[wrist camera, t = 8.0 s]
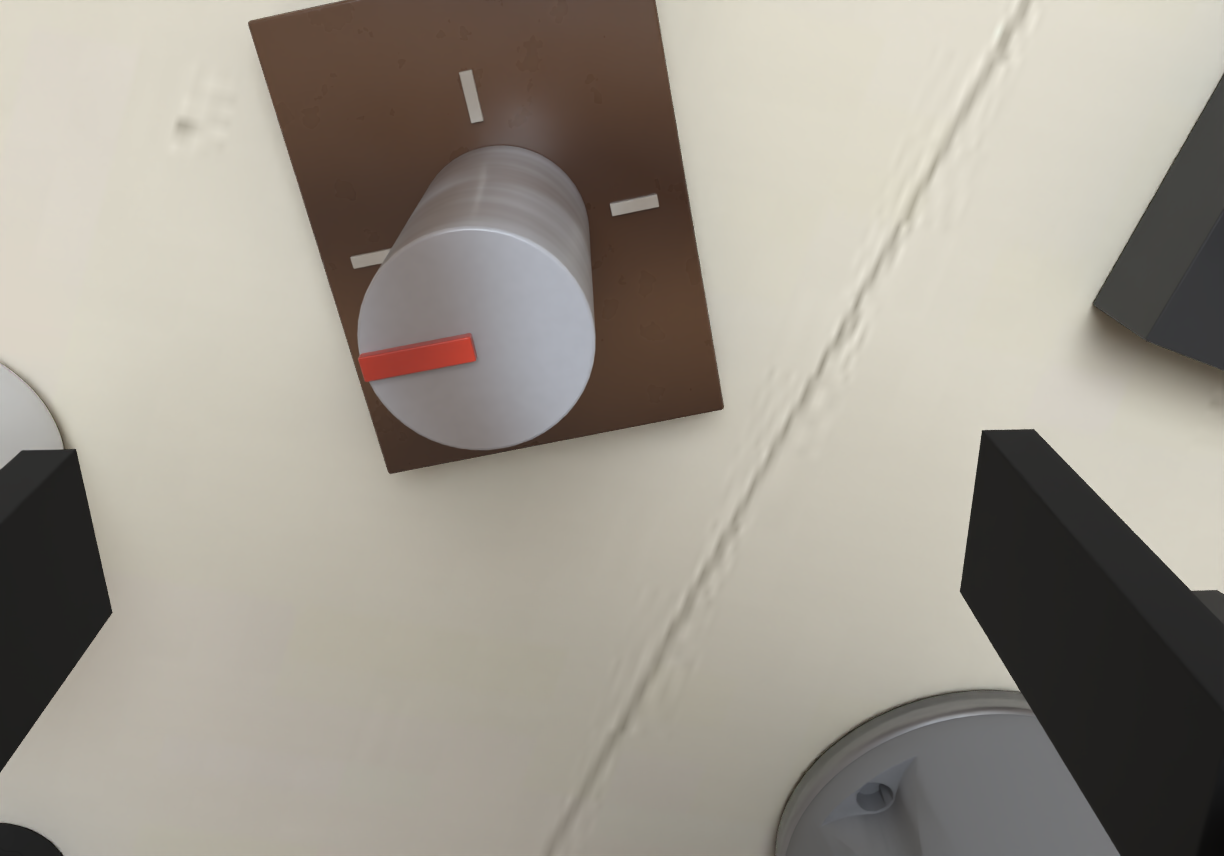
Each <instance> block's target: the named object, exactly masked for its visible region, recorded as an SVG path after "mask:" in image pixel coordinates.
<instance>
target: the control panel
mask: <svg viewBox="0 0 1224 856" xmlns="http://www.w3.org/2000/svg"><path fill="white" fill-rule="evenodd" d="M248 26H249V29H250V32H251V35H252V38H253V42H254V45H255V48H256V51H257V54H258V58H259V61H260V64H261V67H262V70H263V74H264V77H265V80H266V83H267V86H268V90H269V93H270V96H271V99H272V102H273V105H274V109H275V112H276V115H277V118H278V121H279V125H280V128H281V131H282V134H283V137H284V141H285V144H286V147H287V150H288V153H289V157H290V160H291V163H292V166H293V169H294V173H295V176H296V179H297V182H298V185H299V189H300V192H301V195H302V198H303V201H304V205H305V208H306V211H307V214H308V217H309V221H310V224H311V227H312V230H313V233H314V237H315V240H316V243H317V246H318V249H319V253H320V256H321V259H322V262H323V265H324V269H325V272H326V275H327V278H328V281H329V285H330V288H331V291H332V294H333V297H334V301H335V304H336V307H337V310H338V313H339V317H340V320H341V323H342V326H343V329H344V332H345V336H346V339H347V342H348V345H349V348H350V352H351V355H352V358H353V361H354V364H355V368H356V371H357V374H358V377H359V380H360V384H361V387H362V390H363V393H364V396H365V400H366V403H367V406H368V409H369V412H370V416H371V419H372V422H373V425H374V428H375V432H376V435H377V438H378V441H379V444H380V448H381V451H382V454H383V457H384V460H385V464H386V467H387V470H388V472H389V474H392V473H397V472H402V471H407V470H413V469H418V468H423V467H428V466H433V465H438V464H443V463H449V462H454V461H459V460H464V459H469V458H474V457H480V456H485V455H490V454H495V453H500V452H505V451H511V450H516V449H521V448H526V447H531V446H536V445H542V444H547V443H552V442H557V441H562V440H567V439H572V438H578V437H583V436H588V435H593V434H598V433H603V432H609V431H614V430H619V429H624V428H629V427H634V426H640V425H645V424H650V423H655V422H660V421H665V420H670V419H676V418H681V417H686V416H691V415H696V414H701V413H707V412H712V411H717V410H722V409H723V408H724V404H723V398H722V392H721V386H720V380H719V375H718V369H717V363H716V357H715V351H714V345H713V339H712V333H711V327H710V321H709V315H708V309H707V303H706V298H705V292H704V286H703V280H702V274H701V268H700V262H699V256H698V250H697V244H696V238H695V232H694V226H693V220H692V215H691V209H690V203H689V197H688V191H687V185H686V179H685V173H684V167H683V161H682V155H681V149H680V143H679V138H678V132H677V126H676V120H675V114H674V108H673V102H672V96H671V90H670V84H669V78H668V72H667V66H666V60H665V55H664V49H663V43H662V37H661V31H660V25H659V19H658V13H657V7H656V1H655V0H343V1H339V2H334V3H329V4H325V5H320V6H315V7H311V8H306V9H302V10H297V11H292V12H288V13H283V14H278V15H274V16H269V17H265V18H260V19H256V20H251V21H249V22H248ZM495 145H507V146H514V147H520V148H524V149H527V150H531V151H533V152H535V153H538V154H540V155H542V156H544V157H545V158H547V159H549V160H551V161H552V162H553V163H554V164H556V165H557V166H558V167H560V168H561V169H562V170H563V171H564V172H565V173H566V174H567V175H568V177H569V178H570V179H571V181H572V182H573V183H574V184H575V186H576V188H577V190H578V191H579V193H580V195H581V197H582V200H583V202H584V204H585V208H586V211H587V215H588V222H589V233H590V250H591V267H592V284H593V301H594V318H595V335H596V338H595V356H594V363H593V367H592V371H591V374H590V378H589V380H588V382H587V384H586V387H585V389H584V391H583V393H582V394H581V396H580V398H579V399H578V401H577V402H576V404H575V405H574V406H573V407H572V409H571V410H570V411H569V412H568V414H567V415H566V416H565V417H563V418H562V419H561V420H560V421H559V422H558V423H557V424H556V425H554V426H553V427H552V428H550V429H549V430H547V431H546V432H544V433H543V434H541V435H539V436H537V437H535V438H533V439H531V440H529V441H526V442H523V443H521V444H518V445H514V446H510V447H506V448H501V449H493V450H468V449H460V448H455V447H451V446H447V445H443V444H440V443H438V442H435V441H432V440H430V439H428V438H426V437H424V436H422V435H420V434H418V433H416V432H415V431H413V430H412V429H410V428H409V427H407V426H406V425H404V424H403V423H402V422H401V421H400V420H398V419H397V418H396V417H395V416H394V415H393V414H392V413H391V412H390V411H389V410H388V409H387V408H386V407H385V406H384V404H383V403H382V402H381V400H380V399H379V398H378V396H377V395H376V393H375V392H374V390H373V388H372V386H371V385H370V383H369V382H365V380H364V377H363V374H362V370H361V367H360V364H359V361H358V358H359V356H360V353H359V347H358V336H357V334H358V319H359V314H360V309H361V305H362V302H363V299H364V296H365V293H366V291H367V289H368V287H369V285H370V283H371V281H372V279H373V278H374V276H375V274H376V273H377V271H378V269H379V268H380V266H381V264H382V263H383V261H384V259H385V258H386V256H387V255H388V253H389V251H390V250H391V248H392V246H393V245H394V243H395V241H396V240H397V238H398V236H399V235H400V233H401V231H402V230H403V228H404V226H405V225H406V223H407V222H408V220H409V218H410V217H411V215H412V213H413V212H414V210H415V208H416V207H417V205H418V203H419V202H420V200H421V198H422V197H423V195H424V194H425V192H426V190H427V189H428V187H429V185H430V184H431V182H432V181H433V180H434V178H435V177H436V175H437V174H438V173H439V172H440V171H441V170H442V169H443V168H444V167H445V166H446V165H448V164H449V163H450V162H451V161H453V160H454V159H456V158H457V157H459V156H461V155H462V154H465V153H467V152H469V151H472V150H475V149H478V148H482V147H488V146H495Z"/></svg>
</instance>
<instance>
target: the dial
mask: <svg viewBox="0 0 1224 856" xmlns="http://www.w3.org/2000/svg"><path fill="white" fill-rule="evenodd" d="M357 336H358V347H359V353H360V356H359V358H358V361H359V364H360V367H361V370H362V374H363V377H364V380H365V382H369V383H370V385H371V386H372V388H373V390H374V392H375V393H376V395H377V396H378V398H379V399H380V400H381V402H382V403H383V404H384V406H385V407H386V408H387V409H388V410H389V411H390V412H391V413H392V414H393V415H394V416H395V417H396V418H397V419H398V420H400V421H401V422H402V423H403V424H404V425H406V426H407V427H409V428H410V429H412V430H413V431H415V432H416V433H418V434H420V435H422V436H424V437H426V438H428V439H430V440H432V441H435V442H438V443H440V444H443V445H447V446H451V447H455V448H460V449H468V450H493V449H501V448H506V447H510V446H514V445H518V444H521V443H523V442H526V441H529V440H531V439H533V438H535V437H537V436H539V435H541V434H543V433H544V432H546V431H547V430H549V429H550V428H552V427H553V426H554V425H556V424H557V423H558V422H559V421H560V420H561V419H562V418H563V417H565V416H566V415H567V414H568V412H569V411H570V410H571V409H572V407H573V406H574V405H575V404H576V402H577V401H578V399H579V398H580V396H581V394H582V393H583V391H584V389H585V387H586V384H587V382H588V380H589V378H590V374H591V371H592V367H593V363H594V356H595V338H596V335H595V318H594V301H593V284H592V267H591V250H590V233H589V222H588V215H587V211H586V208H585V204H584V202H583V200H582V197H581V195H580V193H579V191H578V190H577V188H576V186H575V184H574V183H573V182H572V181H571V179H570V178H569V177H568V175H567V174H566V173H565V172H564V171H563V170H562V169H561V168H560V167H558V166H557V165H556V164H554V163H553V162H552V161H551V160H549V159H547V158H545V157H544V156H542V155H540V154H538V153H535V152H533V151H531V150H527V149H524V148H520V147H514V146H507V145H495V146H488V147H482V148H478V149H475V150H472V151H469V152H467V153H465V154H462V155H461V156H459V157H457V158H456V159H454V160H453V161H451V162H450V163H449V164H448V165H446V166H445V167H444V168H443V169H442V170H441V171H440V172H439V173H438V174H437V175H436V177H435V178H434V180H433V181H432V182H431V184H430V185H429V187H428V189H427V190H426V192H425V194H424V195H423V197H422V198H421V200H420V202H419V203H418V205H417V207H416V208H415V210H414V212H413V213H412V215H411V217H410V218H409V220H408V222H407V223H406V225H405V226H404V228H403V230H402V231H401V233H400V235H399V236H398V238H397V240H396V241H395V243H394V245H393V246H392V248H391V250H390V251H389V253H388V255H387V256H386V258H385V259H384V261H383V263H382V264H381V266H380V268H379V269H378V271H377V273H376V274H375V276H374V278H373V279H372V281H371V283H370V285H369V287H368V289H367V291H366V293H365V296H364V299H363V302H362V305H361V309H360V314H359V319H358V334H357Z"/></svg>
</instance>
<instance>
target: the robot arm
mask: <svg viewBox="0 0 1224 856" xmlns="http://www.w3.org/2000/svg"><path fill="white" fill-rule="evenodd" d="M960 593H961V594H962V596H963V598H964V599H965V601H966V602H967V604H968V606H969V607H970V609H971V611H972V612H973V614H974V616H975V617H976V619H977V621H978V622H979V624H980V626H981V627H982V629H983V630H984V632H985V634H986V635H987V637H988V639H989V640H990V642H991V644H992V645H993V647H994V649H995V650H996V652H997V653H998V655H999V657H1000V658H1001V660H1002V662H1003V663H1004V665H1005V667H1006V668H1007V670H1008V672H1009V673H1010V675H1011V676H1012V678H1013V680H1014V681H1015V683H1016V685H1017V686H1018V688H1019V690H1020V691H1021V693H1018V692H1009V691H988V690H985V691H966V692H959V693H951V694H945V695H940V696H935V697H931V698H927V699H923V700H920V701H916V702H913V703H910V704H907V705H904V706H902V707H899V708H896V709H894V710H891V711H889V712H887V713H885V714H883V715H880V716H878V717H876V718H874V719H872V720H871V721H869V722H867V723H865V724H864V725H862V726H860V727H858V728H857V729H855V730H854V731H852V732H851V733H849V734H848V735H846V736H845V737H843V738H842V739H841V740H840V741H838V742H837V743H836V744H835V745H833V746H832V747H831V748H830V749H829V750H828V751H827V752H825V753H824V754H823V755H822V756H821V757H820V758H819V759H818V760H817V761H816V762H815V763H814V765H813V766H812V767H811V768H810V769H809V770H808V772H807V773H806V774H805V775H804V777H803V778H802V780H801V781H800V782H799V784H798V785H797V787H796V788H795V790H794V792H793V794H792V795H791V797H790V799H789V801H788V803H787V805H786V808H785V810H784V812H783V815H782V818H781V821H780V825H779V828H778V833H777V839H776V852H775V856H1224V594H1223V593H1221V592H1219V591H1217V590H1206V591H1191V590H1190V589H1189V588H1188V587H1187V586H1186V585H1185V584H1184V583H1183V582H1182V581H1181V580H1180V579H1179V578H1178V577H1177V576H1176V575H1175V574H1174V573H1173V572H1172V571H1171V570H1170V569H1169V568H1168V567H1167V566H1166V565H1165V564H1164V563H1163V562H1162V560H1161V559H1160V558H1159V557H1158V556H1157V555H1156V554H1155V553H1154V552H1153V551H1152V550H1151V549H1150V548H1149V547H1148V546H1147V545H1146V544H1145V543H1144V542H1143V541H1142V540H1141V539H1140V538H1139V537H1138V536H1137V535H1136V534H1135V533H1134V532H1133V531H1132V530H1131V529H1130V528H1129V527H1128V526H1127V525H1126V523H1125V522H1124V521H1123V520H1122V519H1121V518H1120V517H1119V516H1118V515H1117V514H1116V513H1115V512H1114V511H1113V510H1112V509H1111V508H1110V507H1109V506H1108V505H1107V504H1106V503H1105V502H1104V501H1103V500H1102V499H1101V498H1100V497H1099V496H1098V495H1097V494H1096V493H1095V492H1094V491H1093V490H1092V489H1091V488H1090V486H1089V485H1088V484H1087V483H1086V482H1085V481H1084V480H1083V479H1082V478H1081V477H1080V476H1079V475H1078V474H1077V473H1076V472H1075V471H1074V470H1073V469H1072V468H1071V467H1070V466H1069V465H1068V464H1067V463H1066V462H1065V461H1064V460H1063V459H1062V458H1061V457H1060V456H1059V455H1058V454H1057V453H1056V452H1055V451H1054V449H1053V448H1052V447H1051V446H1050V445H1049V444H1048V443H1047V442H1046V441H1045V440H1044V439H1043V438H1042V437H1041V436H1040V435H1039V434H1038V433H1037V432H1036V431H1035V430H1034V429H1024V430H982V435H981V443H980V450H979V457H978V464H977V472H976V479H975V486H974V494H973V501H972V508H971V515H970V523H969V530H968V537H967V544H966V552H965V559H964V566H963V574H962V581H961V588H960ZM111 614H112V609H111V604H110V600H109V595H108V591H107V586H106V582H105V577H104V573H103V568H102V564H101V559H100V555H99V550H98V546H97V541H96V537H95V533H94V528H93V524H92V519H91V515H90V510H89V506H88V501H87V497H86V492H85V488H84V483H83V479H82V474H81V470H80V465H79V461H78V456H77V452H76V449H60V450H22V451H20V452H19V453H18V454H17V455H16V456H15V457H14V458H13V459H12V460H10V461H9V462H8V463H7V464H6V465H5V466H4V467H3V468H1V469H0V772H1V771H2V769H3V768H4V766H5V765H6V763H7V762H8V761H9V759H10V758H11V756H12V755H13V754H14V752H15V751H16V749H17V748H18V746H19V745H20V744H21V742H22V741H23V739H24V738H25V736H26V735H27V734H28V732H29V731H30V729H31V728H32V726H33V725H34V724H35V722H36V721H37V719H38V718H39V716H40V715H41V714H42V712H43V711H44V709H45V708H46V707H47V705H48V704H49V702H50V701H51V699H52V698H53V697H54V695H55V694H56V692H57V691H58V689H59V688H60V687H61V685H62V684H63V682H64V681H65V679H66V678H67V677H68V675H69V674H70V672H71V671H72V669H73V668H74V667H75V665H76V664H77V662H78V661H79V660H80V658H81V657H82V655H83V654H84V652H85V651H86V650H87V648H88V647H89V645H90V644H91V642H92V641H93V640H94V638H95V637H96V635H97V634H98V632H99V631H100V630H101V628H102V627H103V625H104V624H105V622H106V621H107V620H108V618H109V617H110V615H111Z"/></svg>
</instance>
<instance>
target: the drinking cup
mask: <svg viewBox="0 0 1224 856" xmlns="http://www.w3.org/2000/svg"><path fill="white" fill-rule="evenodd" d="M0 856H62V855H61V854H60V852H59V851H58V850H57V849H56V848H55V846H54V845H52V844H51V843H50V842H49V841H48V840H46V839H45V838H44V837H42V836H40V835H39V834H37V833H35V832H33V831H31V830H28V829H26V828H23V827H19V826H15V825H10V824H2V823H0Z"/></svg>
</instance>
